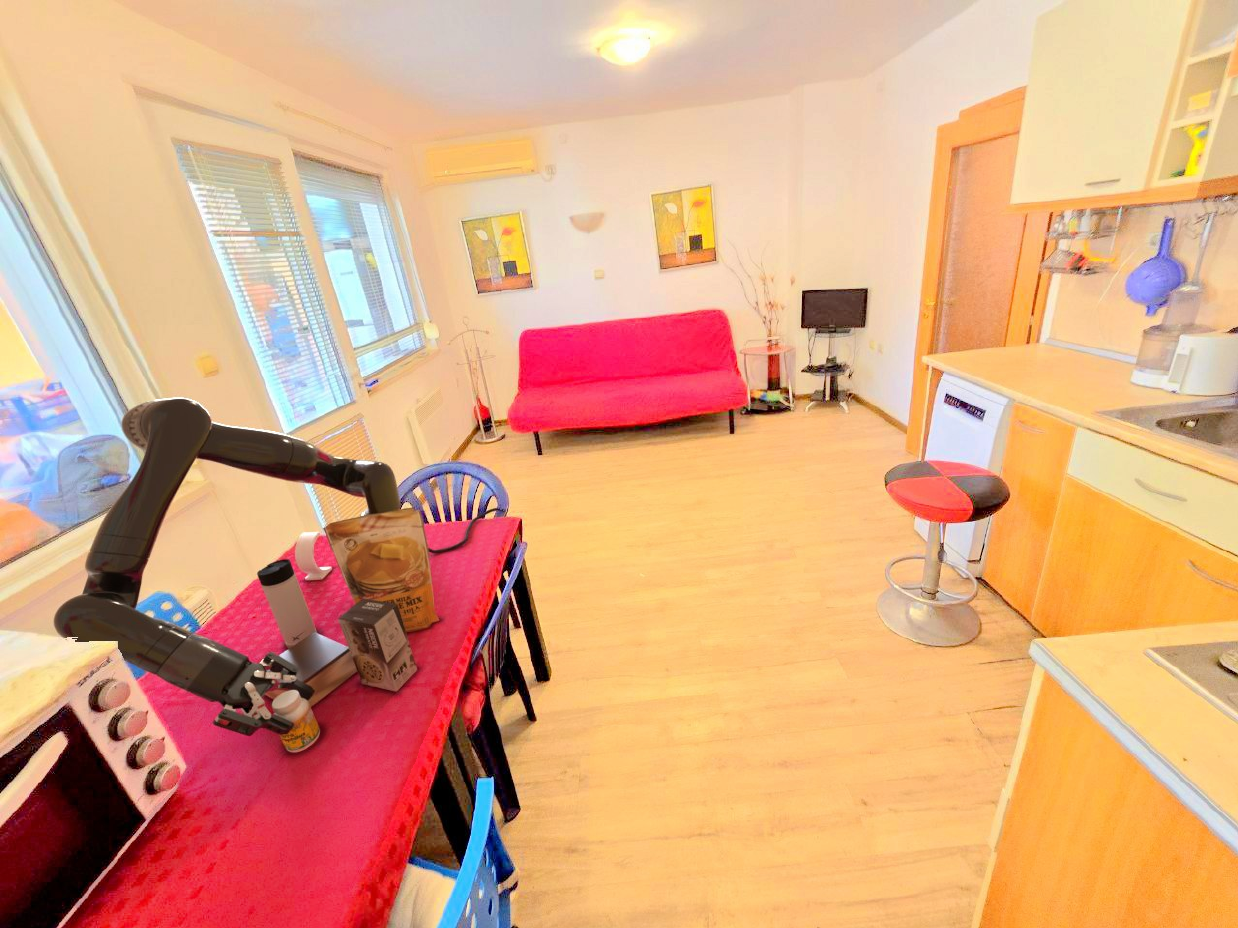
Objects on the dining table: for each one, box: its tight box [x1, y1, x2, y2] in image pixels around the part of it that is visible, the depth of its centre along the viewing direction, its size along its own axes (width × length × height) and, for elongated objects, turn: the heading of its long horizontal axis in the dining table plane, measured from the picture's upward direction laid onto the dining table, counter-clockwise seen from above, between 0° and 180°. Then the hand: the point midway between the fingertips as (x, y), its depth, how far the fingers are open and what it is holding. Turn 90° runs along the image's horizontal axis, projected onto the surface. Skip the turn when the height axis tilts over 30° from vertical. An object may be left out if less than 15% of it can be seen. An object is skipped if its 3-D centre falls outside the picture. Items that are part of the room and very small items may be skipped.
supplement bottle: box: [271, 690, 321, 754], centre depth 86 cm, size 5×5×10 cm
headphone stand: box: [294, 531, 333, 581], centre depth 137 cm, size 5×6×12 cm
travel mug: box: [256, 558, 318, 649], centre depth 110 cm, size 6×7×20 cm
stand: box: [264, 632, 358, 708], centre depth 100 cm, size 12×12×6 cm
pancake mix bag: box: [322, 507, 440, 633], centre depth 110 cm, size 7×19×28 cm, turn 102°
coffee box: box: [337, 599, 418, 693], centre depth 98 cm, size 9×6×16 cm
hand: (301, 711), depth 86 cm, fingers open, 6 cm apart
